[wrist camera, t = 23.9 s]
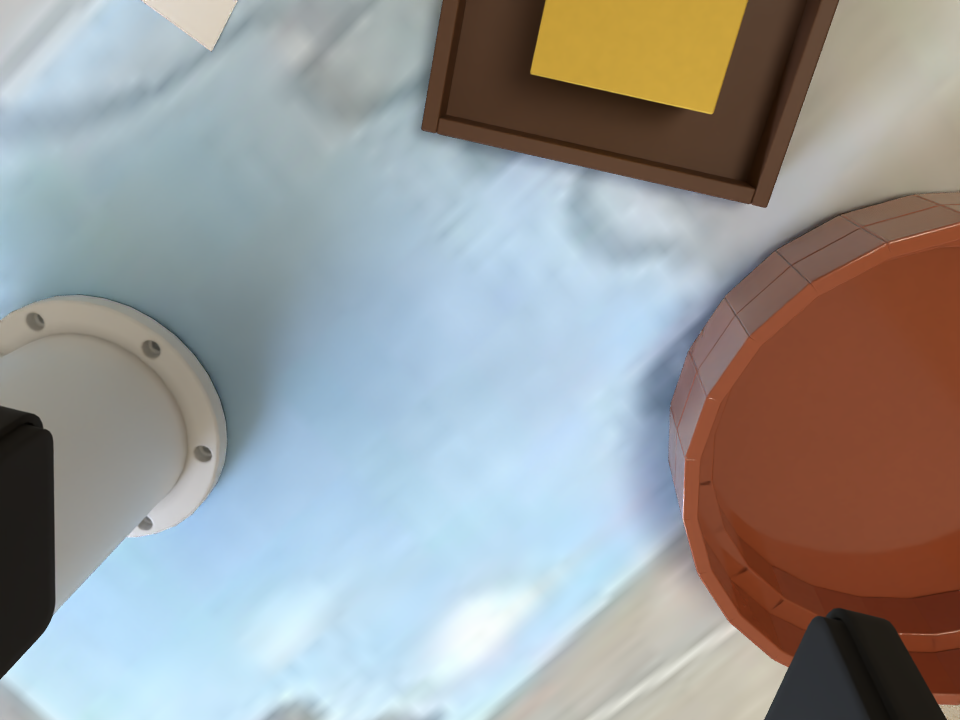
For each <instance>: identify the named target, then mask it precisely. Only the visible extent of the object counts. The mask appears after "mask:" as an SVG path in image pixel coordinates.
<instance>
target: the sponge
mask: <svg viewBox="0 0 960 720" xmlns="http://www.w3.org/2000/svg"><path fill="white" fill-rule="evenodd" d="M747 3H748V0H546V1H545V5H544V10H543V15H542V19H541V24H540V29H539V33H538V38H537V42H536V47H535V52H534V56H533V61H532V66H531V70H530V73H531V74H532V75H537V76H541V77H546V78H550V79H555V80H559V81H564V82H568V83H573V84H577V85H582V86H586V87H591V88H595V89H599V90H604V91H608V92H613V93H617V94H622V95H626V96H631V97H635V98H640V99H644V100H649V101H653V102H658V103H662V104H667V105H671V106H676V107H680V108H685V109H689V110H694V111H698V112H703V113H707V114H713V113H714V110H715V106H716V103H717V100H718V97H719V93H720V90H721V87H722V84H723V80H724V77H725V74H726V71H727V67H728V64H729V61H730V58H731V55H732V51H733V48H734V45H735V42H736V38H737V35H738V32H739V29H740V25H741V22H742V19H743V16H744V12H745V9H746V6H747Z"/></svg>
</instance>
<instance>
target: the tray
mask: <svg viewBox="0 0 960 720" xmlns="http://www.w3.org/2000/svg"><path fill="white" fill-rule="evenodd" d="M545 1H546V0H443V2H442V8H441V14H440V20H439V26H438V32H437V38H436V44H435V49H434V55H433V61H432V67H431V73H430V79H429V85H428V91H427V97H426V103H425V109H424V115H423V121H422V127H421V129H422V130H423V131H427V132H431V133H438V134H440V135H445V136H449V137H454V138H458V139H462V140H467V141H471V142H476V143H480V144H485V145H489V146H494V147H498V148H502V149H507V150H511V151H516V152H520V153H525V154H529V155H533V156H538V157H542V158H547V159H551V160H556V161H560V162H564V163H569V164H573V165H578V166H582V167H587V168H591V169H595V170H600V171H604V172H609V173H613V174H618V175H622V176H626V177H631V178H635V179H640V180H644V181H649V182H653V183H657V184H662V185H666V186H671V187H675V188H680V189H684V190H688V191H693V192H697V193H702V194H706V195H711V196H715V197H720V198H724V199H728V200H733V201H737V202H742V203H746V204H752V205H755V206H759V207H764V208H766V207H767V205H768V203H769V200H770V197H771V194H772V191H773V188H774V185H775V183H776V180H777V177H778V174H779V171H780V168H781V165H782V163H783V160H784V157H785V154H786V151H787V148H788V145H789V142H790V140H791V137H792V134H793V131H794V128H795V125H796V122H797V120H798V117H799V114H800V111H801V108H802V105H803V102H804V100H805V97H806V94H807V91H808V88H809V85H810V82H811V79H812V77H813V74H814V71H815V68H816V65H817V62H818V59H819V57H820V54H821V51H822V48H823V45H824V42H825V39H826V37H827V34H828V31H829V28H830V25H831V22H832V19H833V16H834V14H835V11H836V8H837V5H838V2H839V0H748V3H747V6H746V9H745V12H744V16H743V19H742V22H741V25H740V29H739V32H738V35H737V38H736V42H735V45H734V48H733V51H732V55H731V58H730V61H729V64H728V67H727V71H726V74H725V77H724V80H723V84H722V87H721V90H720V93H719V97H718V100H717V103H716V106H715V110H714V113H713V114H707V113H703V112H698V111H694V110H689V109H685V108H680V107H676V106H671V105H667V104H662V103H658V102H653V101H649V100H644V99H640V98H635V97H631V96H626V95H622V94H617V93H613V92H608V91H604V90H599V89H595V88H591V87H586V86H582V85H577V84H573V83H568V82H564V81H559V80H555V79H550V78H546V77H541V76H537V75H532V74H531V73H530V70H531V66H532V61H533V56H534V52H535V47H536V42H537V38H538V33H539V29H540V24H541V19H542V15H543V10H544V5H545Z"/></svg>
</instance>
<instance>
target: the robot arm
mask: <svg viewBox="0 0 960 720" xmlns="http://www.w3.org/2000/svg"><path fill="white" fill-rule="evenodd" d="M226 450H227V431H226V420H225V416H224V413H223V409H222V405H221V402H220V398H219V396H218V394H217V392H216V390H215V388H214V386H213V383H212V381H211V379H210V377H209V375H208V374H207V372H206V371H205V370H204V368H203V367H202V365H201V364H200V362H199V361H198V360H197V358H196V357H195V355H194V354H193V353H192V352H191V351H190V350H189V349H188V348H187V347H186V346H185V345H184V344H183V343H182V342H181V341H180V340H179V339H178V338H177V337H176V336H175V335H174V334H173V333H171V332H170V331H169V330H167V329H166V328H165V327H163V326H162V325H161V324H159V323H158V322H157V321H155V320H154V319H152V318H151V317H149V316H147V315H145V314H143V313H141V312H139V311H137V310H135V309H133V308H132V307H130V306H127V305H124V304H120V303H117V302H114V301H111V300H108V299H105V298H99V297H92V296H85V295H65V296H54V297H50V298H47V299H43V300H39V301H35V302H33V303H31V304H28V305H26V306H24V307H22V308H20V309H18V310H15V311H13V312H11V313H10V314H9V315H7V316H6V317H4V318H3V319H2V320H0V679H1V678H2V677H3V676H4V675H5V674H6V673H7V672H8V671H9V670H10V668H11V667H12V666H13V665H14V664H15V663H16V662H17V661H18V660H19V659H20V658H21V657H22V656H23V654H24V653H25V652H26V651H27V650H28V649H29V648H30V647H31V646H32V645H33V644H34V643H35V642H36V640H37V639H38V638H39V637H40V636H41V635H42V634H43V632H44V631H45V630H46V628H47V626H48V625H49V623H50V621H51V618H52V616H53V615H54V613H55V612H56V611H57V610H58V609H59V608H60V607H61V606H62V605H63V604H64V603H65V602H66V601H67V600H68V599H69V598H70V596H71V595H72V594H73V593H74V592H75V591H76V590H77V589H78V588H79V587H80V586H81V585H82V584H83V583H84V582H85V581H86V579H87V578H88V577H89V576H90V575H91V574H92V573H93V572H94V571H95V570H96V569H97V568H98V567H99V566H100V565H101V564H102V562H103V561H104V560H105V559H106V558H107V557H108V556H109V555H110V554H111V553H112V552H113V551H114V550H115V549H116V548H117V547H118V545H119V544H120V543H121V542H122V541H123V540H124V539H125V538H126V537H141V536H146V535H151V534H157V533H159V532H162V531H164V530H167V529H169V528H171V527H174V526H176V525H178V524H179V523H180V522H182V521H183V520H185V519H186V518H188V517H189V516H190V515H192V514H193V513H194V512H195V511H196V509H197V508H198V507H199V506H200V505H201V504H202V503H203V502H204V501H205V500H206V498H207V497H208V495H209V494H210V493H211V491H212V490H213V488H214V487H215V485H216V484H217V482H218V480H219V477H220V474H221V472H222V469H223V467H224V464H225V457H226ZM764 720H947V719H946V717H945V716H944V714H943V712H942V710H941V708H940V707H939V705H938V703H937V701H936V700H935V698H934V696H933V694H932V693H931V691H930V689H929V687H928V686H927V684H926V682H925V680H924V678H923V677H922V675H921V673H920V671H919V670H918V668H917V666H916V664H915V663H914V661H913V659H912V657H911V656H910V654H909V652H908V650H907V648H906V647H905V645H904V643H903V641H902V640H901V638H900V636H899V634H898V633H897V631H896V629H895V627H894V626H893V625H892V624H891V622H890V621H888V620H886V619H884V618H880V617H876V616H871V615H867V614H863V613H859V612H855V611H851V610H847V609H842V608H834V609H832V610H831V611H830V612H829V613H828V614H827V615H826V617H822V616H816V617H815V618H813V619H812V620H811V622H810V624H809V625H808V627H807V630H806V632H805V634H804V636H803V638H802V640H801V642H800V644H799V647H798V649H797V651H796V653H795V655H794V657H793V659H792V662H791V664H790V666H789V668H788V670H787V672H786V674H785V676H784V679H783V681H782V683H781V685H780V687H779V689H778V691H777V694H776V696H775V698H774V700H773V702H772V704H771V706H770V709H769V711H768V713H767V715H766V717H765V719H764Z"/></svg>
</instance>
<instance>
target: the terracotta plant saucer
mask: <svg viewBox="0 0 960 720" xmlns="http://www.w3.org/2000/svg"><path fill="white" fill-rule="evenodd" d="M668 459H669V460H668V461H669V465H670V469H671V474H672V478H673V482H674V486H675V490H676V495H677V499H678V503H679V508H680V512H681V516H682V520H683V524H684V527H685V531H686V535H687V538H688V542H689V545H690V549H691V553H692V556H693V560H694V564H695V567H696V571H697V573H698V576H699V577H700V579H701V580H702V582H703V583H704V585H705V586H706V588H707V589H708V591H709V592H710V594H711V595H712V597H713V599H714V600H715V602H716V603H717V605H718V606H719V608H720V609H721V611H722V612H723V614H724V615H725V617H726V618H727V620H728V621H729V622H730V623H731V624H732V625H733V626H734V627H736V628H737V629H738V630H739V631H740V632H741V633H743V634H744V635H745V636H746V637H747V638H748V639H750V640H751V641H752V642H753V643H754V644H755V645H756V646H758V647H759V648H760V649H761V650H762V651H763V652H765V653H766V654H767V655H768V656H769V657H770V658H772V659H774V660H775V661H777V662H779V663H781V664H783V665H785V666H787V667H789V666H790V664H791V662H792V659H793V657H794V655H795V653H796V651H797V649H798V647H799V644H800V642H801V640H802V638H803V636H804V634H805V632H806V630H807V627H808V625H809V624H810V622H811V620H812V619H813V618H815V617H816V616H822V617H826V615H827V614H828V613H829V612H830V611H831V610H832V609H834V608H842V609H847V610H851V611H855V612H859V613H863V614H867V615H871V616H876V617H880V618H884V619H886V620H888V621H890V622H891V624H892V625H893V626H894V627H895V629H896V631H897V633H898V634H899V636H900V638H901V640H902V641H903V643H904V645H905V647H906V648H907V650H908V652H909V654H910V656H911V657H912V659H913V661H914V663H915V664H916V666H917V668H918V670H919V671H920V673H921V675H922V677H923V678H924V680H925V682H926V684H927V686H928V687H929V689H930V691H931V693H932V694H933V696H934V698H935V700H936V701H937V703H938V704H940V705H959V704H960V192H955V193H929V194H915V195H909V196H905V197H902V198H898V199H895V200H891V201H887V202H884V203H880V204H877V205H873V206H870V207H866V208H863V209H859V210H856V211H852V212H849V213H845V214H842V215H841V216H837V217H835V218H833V219H832V220H830V221H828V222H826V223H824V224H822V225H821V226H819V227H817V228H815V229H813V230H812V231H810V232H808V233H806V234H804V235H802V236H801V237H799V238H797V239H795V240H793V241H792V242H790V243H788V244H786V245H784V246H783V247H781V248H779V249H777V250H776V251H774V252H773V253H772V254H771V255H770V256H769V257H768V258H766V259H765V260H764V261H763V262H762V263H761V264H760V265H759V266H758V267H757V268H755V269H754V270H753V271H752V272H751V273H750V274H749V275H748V276H747V277H745V278H744V279H743V280H742V281H741V282H740V283H739V284H738V285H737V286H736V287H734V288H733V289H732V290H731V291H730V292H729V293H728V294H727V295H726V296H725V298H723V300H722V301H721V303H720V304H719V306H718V307H717V309H716V310H715V312H714V313H713V315H712V316H711V318H710V319H709V321H708V322H707V324H706V325H705V327H704V328H703V329H702V331H701V332H700V334H699V335H698V337H697V338H696V340H695V341H694V343H693V344H692V346H691V347H690V351H688V353H687V356H686V359H685V362H684V365H683V368H682V371H681V374H680V377H679V380H678V383H677V386H676V389H675V392H674V395H673V398H672V401H671V407H670V424H669V454H668Z"/></svg>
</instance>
